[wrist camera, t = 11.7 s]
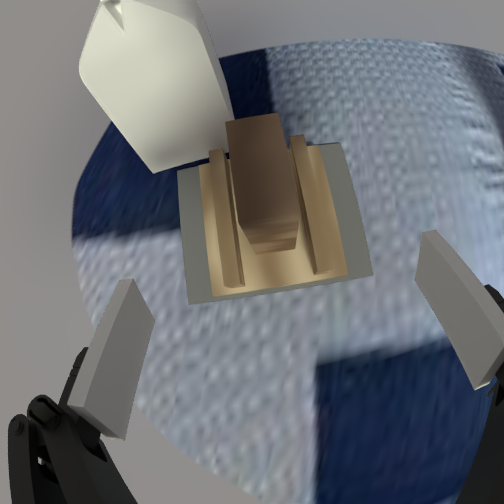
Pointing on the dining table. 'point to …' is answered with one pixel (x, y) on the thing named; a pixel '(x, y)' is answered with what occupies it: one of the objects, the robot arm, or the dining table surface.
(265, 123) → the brown wooden block
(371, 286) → the dining table surface
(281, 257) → the rack
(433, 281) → the robot arm
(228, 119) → the milk
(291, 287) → the mat
